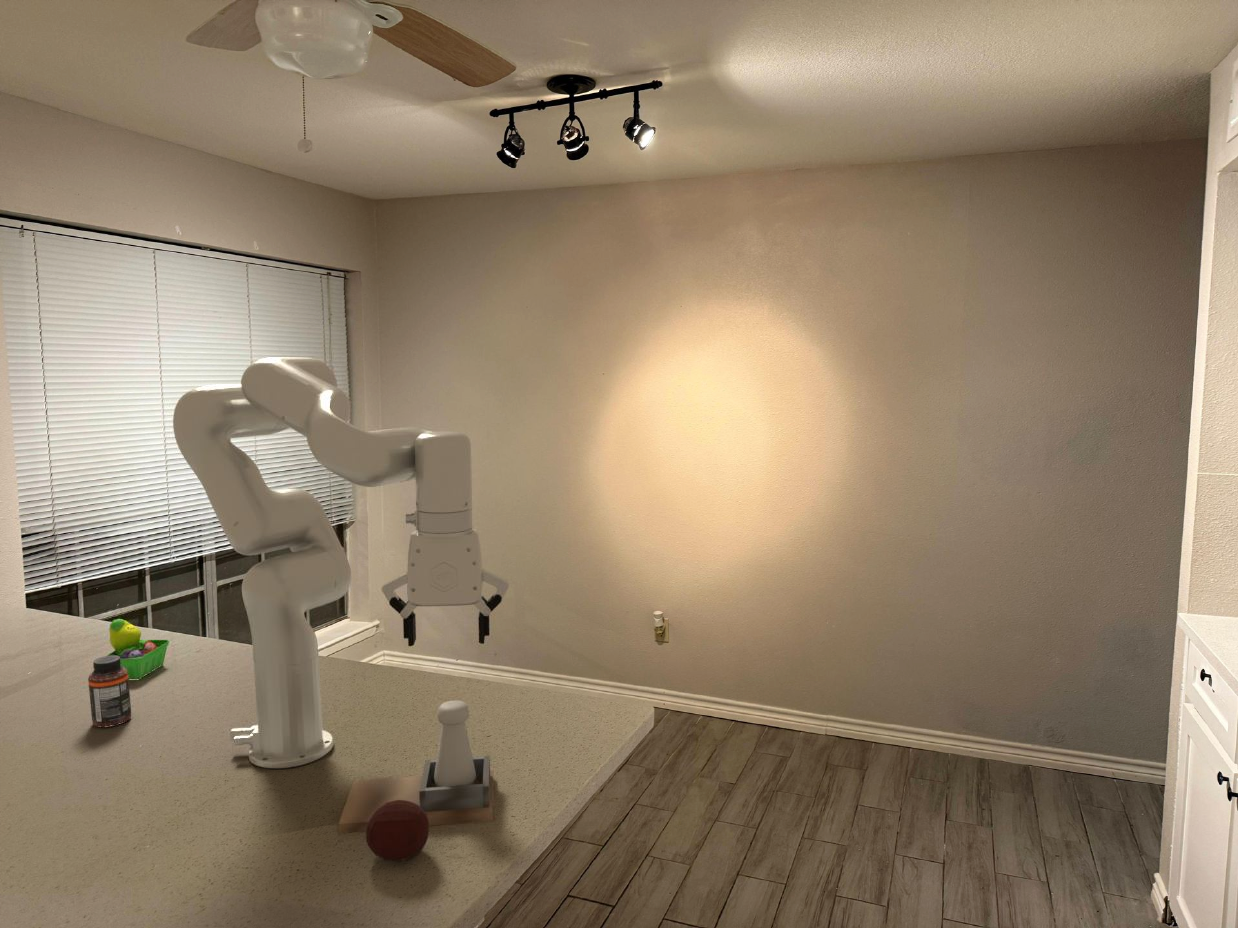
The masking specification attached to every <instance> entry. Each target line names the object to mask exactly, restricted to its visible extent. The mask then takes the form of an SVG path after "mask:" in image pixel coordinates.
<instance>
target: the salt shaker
mask: <svg viewBox="0 0 1238 928" xmlns="http://www.w3.org/2000/svg"><path fill="white" fill-rule="evenodd" d="M469 710H470V709H469V704H467V703H466V702H464V701H463V700H450V701H445V702H442V704H440V706H438V707H437V712H436V713H437V720H438V723H440V724H441V727H440V733H439V734H440V735H439V742H438V749H437V756H436V759H437V761H436V767H435V774H434V780H435V785H436V786H437V787H446V786H460V785H473V784H474V782H475V780H476V772H475V767H474V762H473V758H472V757H473V754H472V749H471V748H472V747H471V745H470V744H471V743H470V739H469V735H468V730H467V725H466V722H467V721H468V719H469V716H470V711H469Z"/></svg>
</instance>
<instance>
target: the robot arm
mask: <svg viewBox="0 0 1238 928" xmlns="http://www.w3.org/2000/svg"><path fill="white" fill-rule="evenodd" d="M242 373H243V374H242V376H241V380H240V383H236V384H233V383H231V384H230V383H229V384H228V383H227V384H212V385H204V386H200V387H197V388H194V389H191V390H189V391H187V392H185V394H183V395H182V396H181V397H180V398H179V400H178V401H177V403H176V405H175V408H174V412H173V419H172V428H173V435H174V438H175V441H176V444H177V447H178V449H179V452H180V453H181V456H182V457H183V458H184V460H185V461H186V463H187V465H189V467H190V469H191V470H192V472H193V473H194V474H195V476H196V478H197V479H198V481H199V482H200V483H201V485H202V488H203V489H204V491H205V494H206V496H207V498H208V501H209V503H210V505H211V507H212V509H213V511H214V513H215V516H216V518H217V520H218V522H219V524H220V526H221V529H222V531H223V533H224V535H225V537H226V539H227V541H228V542H229V545H230V546H231V547H232V549H233V550H234V551H235V552H236V553H238V554H240V555H243V556H257V555H261V554H267V553H271V552H274V551H275V552H276V551H279V550H283V549H289V550H290V551H291V552H288V553H285V554H281V555H277V556H273V557H269V558H267V559H264V560H261V561H259V562H257V563H256V564H254V565H253V566H252V567H251V568H249V570H248V571H247V572H246V573H245V575H244V577H243V580H242V583H241V594H242V601H243V604H244V607H245V611H246V614H247V619H248V623H249V627H250V628H249V629H250V635H251V644H252V645H251V647H252V659H253V671H254V687H255V688H254V689H255V702H256V703H255V705H256V719H257V724H253V725H252V726H251V727H232V728H231V730H230V740H231V741H233V743H234V746H243V745H250V747H249V749H248V759H249V762H250V763H252V764H253V765H255V766H256V767H257V766H258V767H260V768H265V769H288V768H293V767H299V766H303V765H307V764H309V763H312V762H315V761H317V760H319V759H321V758H323V757H324V756H326V755H327V754H329V752H330V751H332V748H333V746H334V736H333V735H332V734H331V733H330V732H328V731H327V730H325V729H323V717H322V700H321V699H322V696H321V680H320V679H321V677H320V662H319V661H320V658H319V657H320V656H319V645H318V639H317V635H316V633H315V630H314V629H313V627H312V626H311V625H310V623H309V622H308V620H307V619H306V617H305V613H306V612H308V611H310V610H312V609H316V608H319V607H322V606H324V605H327V604H330V603H333V602H335V601H337V600H340V599H342V597H344V596H345V595H346V594H347V593H348V592H349V589H350V587H351V585H352V584H351V583H352V571H351V565H350V562H349V559H348V557H347V555H346V552H345V551H344V548H343V546H342V545H341V542H340V540H339V538H338V535H337V533H336V531H335V530H334V528H333V525H332V523H331V521H330V519H329V517H328V515H327V513H326V511H325V509H324V507H323V506H322V504H321V503H320V501H319V499H317V498H316V497H315V496H314V495H313V494H311V493H310V492H309V491H307V490H304V489H302V488H301V489H300V488H284V489H278V490H272V489H271V488H270V487H269V486H268V485H267V483H266V481H265V479H264V478H263V476H262V473H261V471H260V469H259V467H258V465H257V464H256V463H255V462H254V461H253V459H252V458H251V457H250V456H249V455H248V454H247V453H246V452H244V451H243V450H242V449H240V448H239V447H238V446H236V445H235V444H234V443H233V442H232V441H231V439H232V438H233V439H235V438H236V439H237V438H248V437H259V436H269V435H274V434H277V433H280V432H283V431H285V430H288V429H292V430H293V431H295V432H297V433H298V434H301V435H303V436H304V437H306V442H307V445H308V447H309V450H310V451H311V454H312V455H313V457H314V458H315V460H316V461H317V462H318V463H319V464H320V465H321V466H322V467H324V468H325V469H326V470H328V471H330V472H331V473H333V474H335V475H336V476H338V477H340V478H342V479H344V480H345V481H348V482H350V483H351V484H353V485H357V486H361V487H365V488H366V487H367V488H375V487H381V486H387V485H391V484H397V483H403V482H409V481H415V504H416V505H415V511H414V512H411V513H406V514H405V524H406V525H407V524H409V525H410V524H411V525H413V526H414V527H415V530H414V531H412V532H411V533H410V537H409V544H408V550H407V551H408V552H407V572H404V573H402V574H401V575H398V576H397V577H394V578H392V579H390V580H389V581H387V582H385V583H383V585H382V586H381V592H382V593H383V595H384V597H385V598H386V600H387V601H388V602H389V603H388V605H389V606H390V607H392V609H393V610H394V611H396V612H397V613H398V614H399V615H400V618H402V621H403V622H402V625H403V626H402V627H403V628H402V629H403V633H402V634H403V639H404V640H405V639H407V646H408V647H413V646H415V642H416V641H417V623H416V622H417V621H416V613H415V612H414V611H415V609H417V607H451V606H453V607H454V606H455V607H456V606H472V605H473V606H475V607H476V608H477V609H478V643H479V644H481V645H484V644H485V638H486V637H490V615H491V613H492V612H493V611H494V610H495V608H497V607H498V606H499V605H500V604H501V603H502V601H503V598H504V596H505V595H506V593H507V591H508V588H509V586H510V582H509V581H508V580H507V579H504V578H502V577H500V576H498V575H496V574H494V573H492V572H490V571H487V570H486V569H484V568H483V559H482V550H481V549H482V548H481V543H480V537H479V534H478V529H476V528H473V491H472V490H473V487H472V485H473V484H472V483H473V481H472V479H473V478H472V444H471V439H470V438H469V436H468V435H467V434H466V433H464V432H459V431H432V430H428V429H424V428H420V427H399V428H389V429H387V428H386V429H379V430H372V431H371V430H370V431H368V430H367V431H366V430H364V429H361V428H359V427H357V426H354V425H353V424H351V423H349V419H350V415H351V408H352V407H351V402H350V401H351V400H350V398H349V397H348V395H347V394H346V392H344V390H342V389H341V388H339V387H338V381H337V378H336V375H335V373H334V371H333V370H332V369H331V368H330V366H328V365H327V364H326V363H325V362H324V361H322V360H319V359H318V358H313V357H291V356H290V357H288V356H287V357H282V356H281V357H277V356H276V357H274V356H273V357H266V358H261V359H259V360H256V361H254V362H253V363H251V364H250V365H248V366H247V367H246V369H245V370H244V372H242ZM484 583H486V584H489V585H491V586H493V587H495V589H496V590H495V593H494V594H492V595H491V597H490V598H489V599H487V597H485V596H484V595H483V592H484ZM405 585H406V591H407V592H406V595H407V602H405V600H403V599H402V598H401V597H399V596H398V594H397V592H396V590H397V589H398V588H401V587H403V586H405Z"/></svg>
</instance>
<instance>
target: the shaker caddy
mask: <svg viewBox="0 0 1238 928" xmlns="http://www.w3.org/2000/svg"><path fill="white" fill-rule="evenodd" d="M490 757H491V756H490V755H483V756H482V755H481V756H472V758H473V762H474V767H475V772H476V780H475V782H474V784H473V785H460V786H446V787H437V786H436V785H435V780H434V774H435V767H436V761H437V758H436V759H427V760H424V766H423V771H422V775H415V776H414V775H413V776H400V777H399V776H398V777H387V778H386V777H385V778H384V777H383V778H371V779H360V780H358V779H357V780H356V779H355V780H353V781H352V784H351V787H350V791H349V793H348V795H347V799H346V801H345V804H344V807H343V810H342V813H341V816H340V818H339V820H338V823H337V826H338V827H337V828H338V834H340V833H341V834H342V833H352V832H366V828H367V825H368V822H369V820H370V818H371V817H372V816H373V814H374V813H375V812H376V811H377V809H378V808H380V807H381V806H383V805H384V804H386V803H388V802H391V801H395V800H406V801H410V802H413V803H415V804H417V805H419V806H420V807H421V808H422V809H423V810H424V811H425V813H426V814H427V818H428V821H429V827H430V826H440V825H442V826H443V825H455V824H456V825H457V824H465V823H467V824H469V823H481V822H491V821H493V811H494V810H493V808H494V807H493V804H494V803H493V802H494V770H491V758H490Z"/></svg>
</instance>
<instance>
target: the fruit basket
mask: <svg viewBox="0 0 1238 928" xmlns="http://www.w3.org/2000/svg"><path fill="white" fill-rule="evenodd" d="M108 631H109V643H110V646H111V647H112V648H113V649H114V651H112V652H110V653H109V654H107V655H106V656H119V657H120V662H121V664H120V665H121V666H122V667H124V668H125V669H126V670H127V672H128V679H140V678H142V677H143V676H144V675H145V674H148V673H149V672H151V671H152V670H154V669H156V668H157V667H159V666H160V665H162V666H163V665H164V662H165V658H166V653H167V649H168V646H169V643H170V639H141V635H142V631H141V630H140V629H139V628H138V627H136V626H135V625H133V624H132V623H130V622H129V621H127V620H124V619H121V618H117V619H113V620H112V621H111V622H110V625H109V629H108ZM159 668H160V667H159ZM157 669H158V668H157ZM157 669H156V670H157ZM151 673H152V672H151Z"/></svg>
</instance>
